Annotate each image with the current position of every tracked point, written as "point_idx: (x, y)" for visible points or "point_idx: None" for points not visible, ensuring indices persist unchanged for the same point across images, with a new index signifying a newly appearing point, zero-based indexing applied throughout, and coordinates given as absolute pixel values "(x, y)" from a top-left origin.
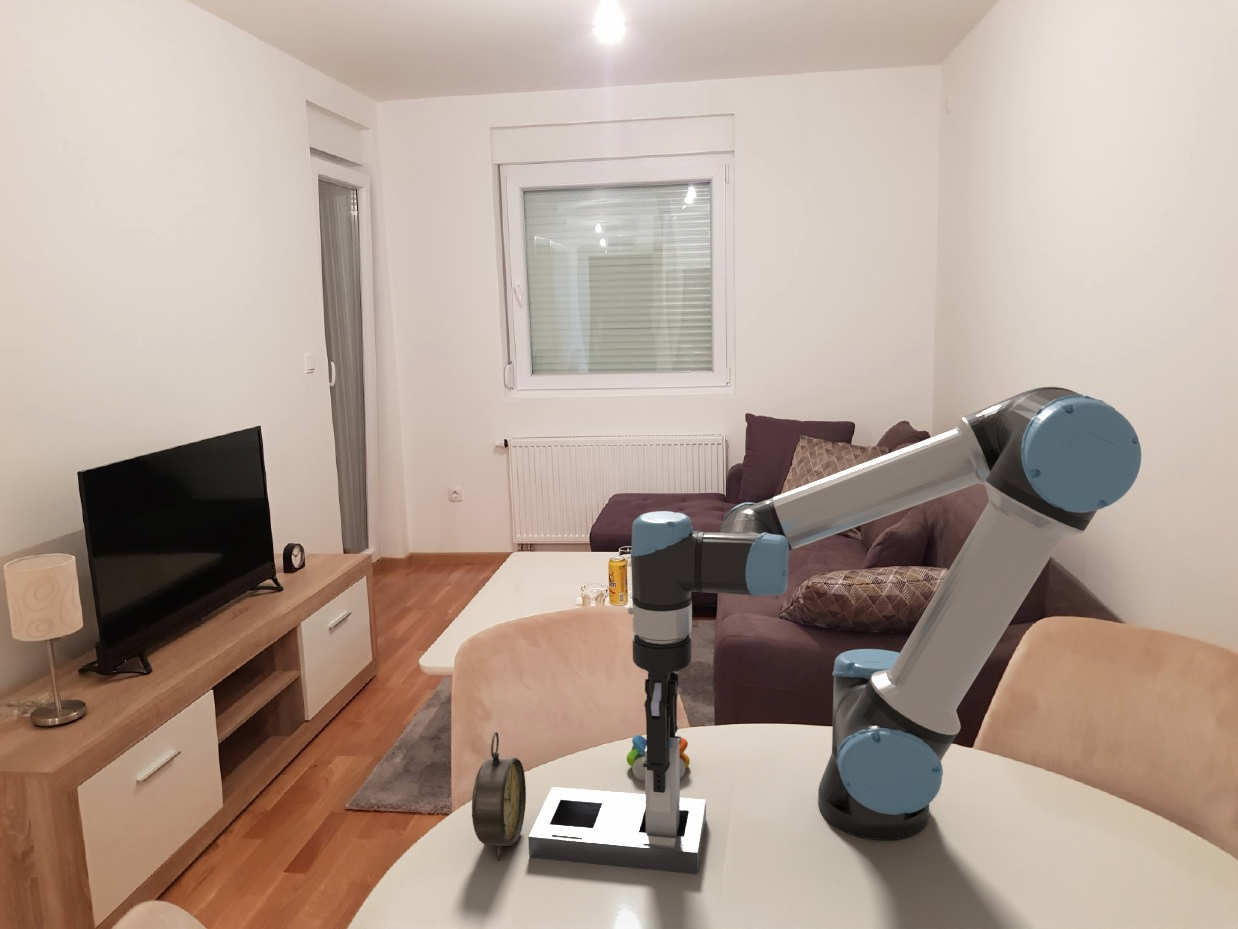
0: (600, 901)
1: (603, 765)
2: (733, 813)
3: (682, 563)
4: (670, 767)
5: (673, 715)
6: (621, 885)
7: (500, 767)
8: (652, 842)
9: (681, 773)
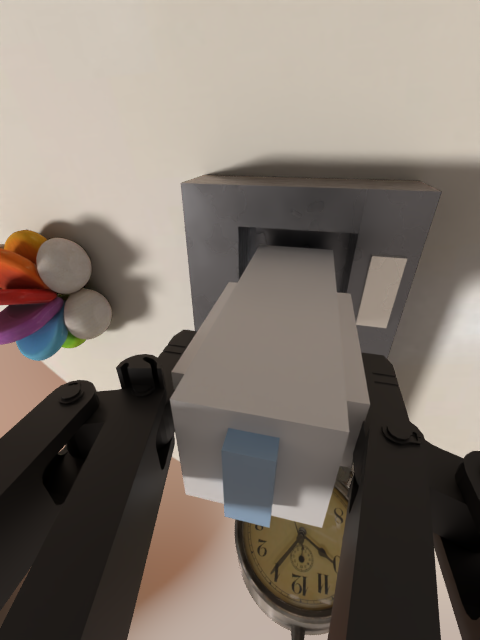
0: (465, 361)
1: (89, 363)
2: (148, 102)
3: None
4: (359, 397)
5: (90, 583)
6: (421, 331)
7: (310, 626)
8: (385, 309)
9: (69, 245)
